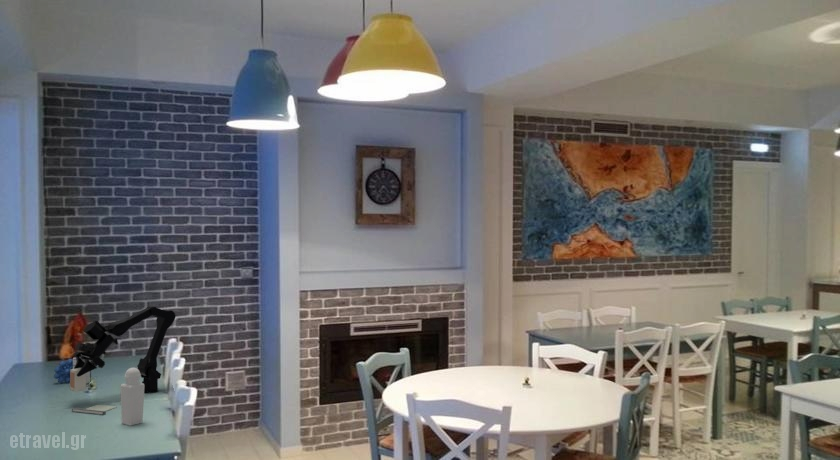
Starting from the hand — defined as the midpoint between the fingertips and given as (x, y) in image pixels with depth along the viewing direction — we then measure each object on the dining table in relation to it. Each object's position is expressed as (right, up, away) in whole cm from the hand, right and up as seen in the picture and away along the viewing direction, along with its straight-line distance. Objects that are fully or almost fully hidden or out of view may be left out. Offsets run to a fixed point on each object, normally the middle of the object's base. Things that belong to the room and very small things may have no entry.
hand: (74, 375), depth 281 cm
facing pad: (+12, -14, -4) cm, 19 cm away
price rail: (+11, -14, -9) cm, 20 cm away
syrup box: (-16, -13, +36) cm, 41 cm away
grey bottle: (+35, -14, -23) cm, 44 cm away
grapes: (-27, -13, +43) cm, 52 cm away
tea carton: (+1, -7, +1) cm, 7 cm away
